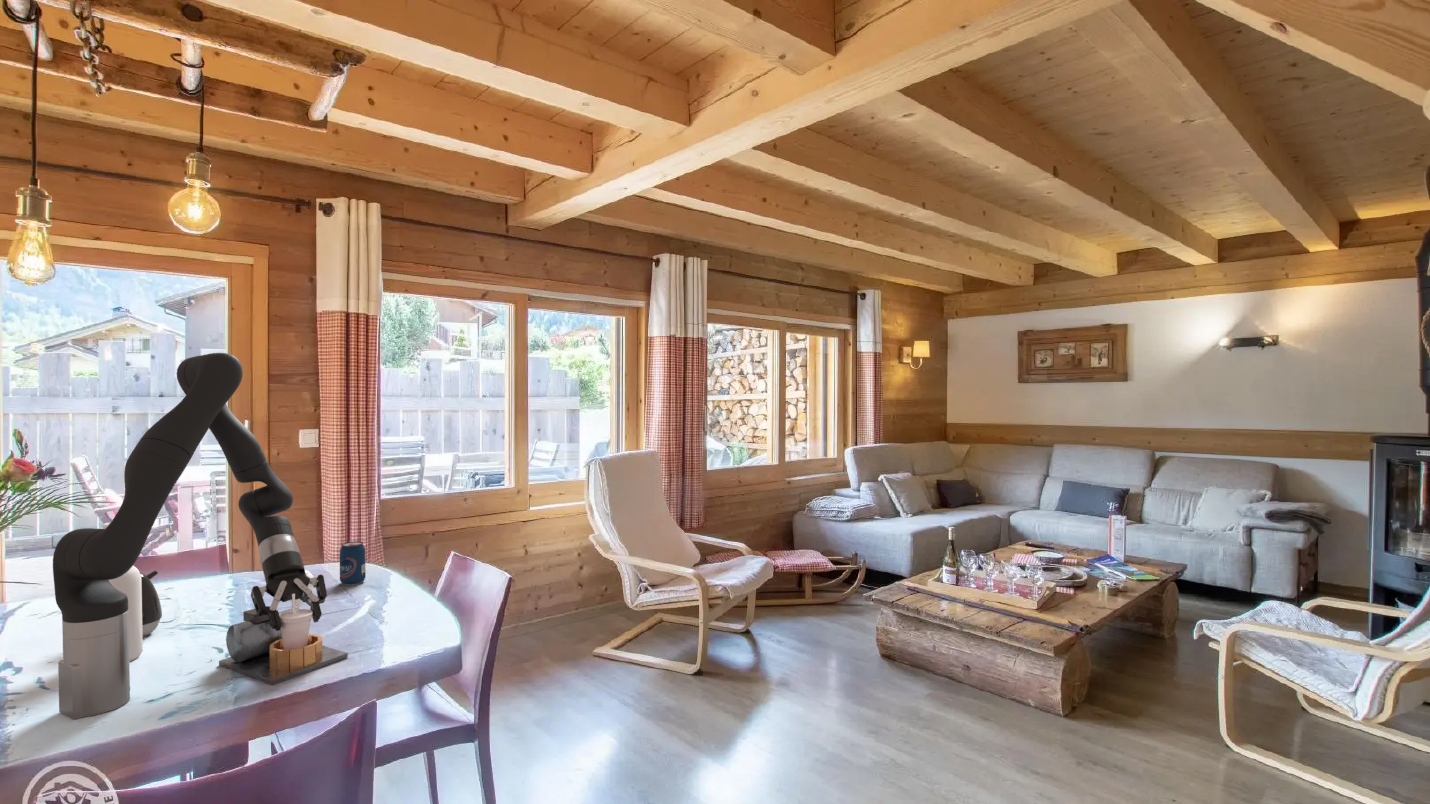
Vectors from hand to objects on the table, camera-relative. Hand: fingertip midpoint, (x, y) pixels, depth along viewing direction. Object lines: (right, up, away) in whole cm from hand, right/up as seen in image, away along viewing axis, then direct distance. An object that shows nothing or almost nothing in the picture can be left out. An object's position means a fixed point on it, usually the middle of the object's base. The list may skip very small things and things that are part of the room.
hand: (298, 624), depth 148 cm
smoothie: (-1, -8, +1) cm, 8 cm away
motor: (-5, -9, +3) cm, 11 cm away
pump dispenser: (-50, -9, +19) cm, 54 cm away
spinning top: (-23, -9, +38) cm, 45 cm away
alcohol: (-42, -9, +4) cm, 43 cm away
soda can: (-21, -8, +63) cm, 67 cm away
